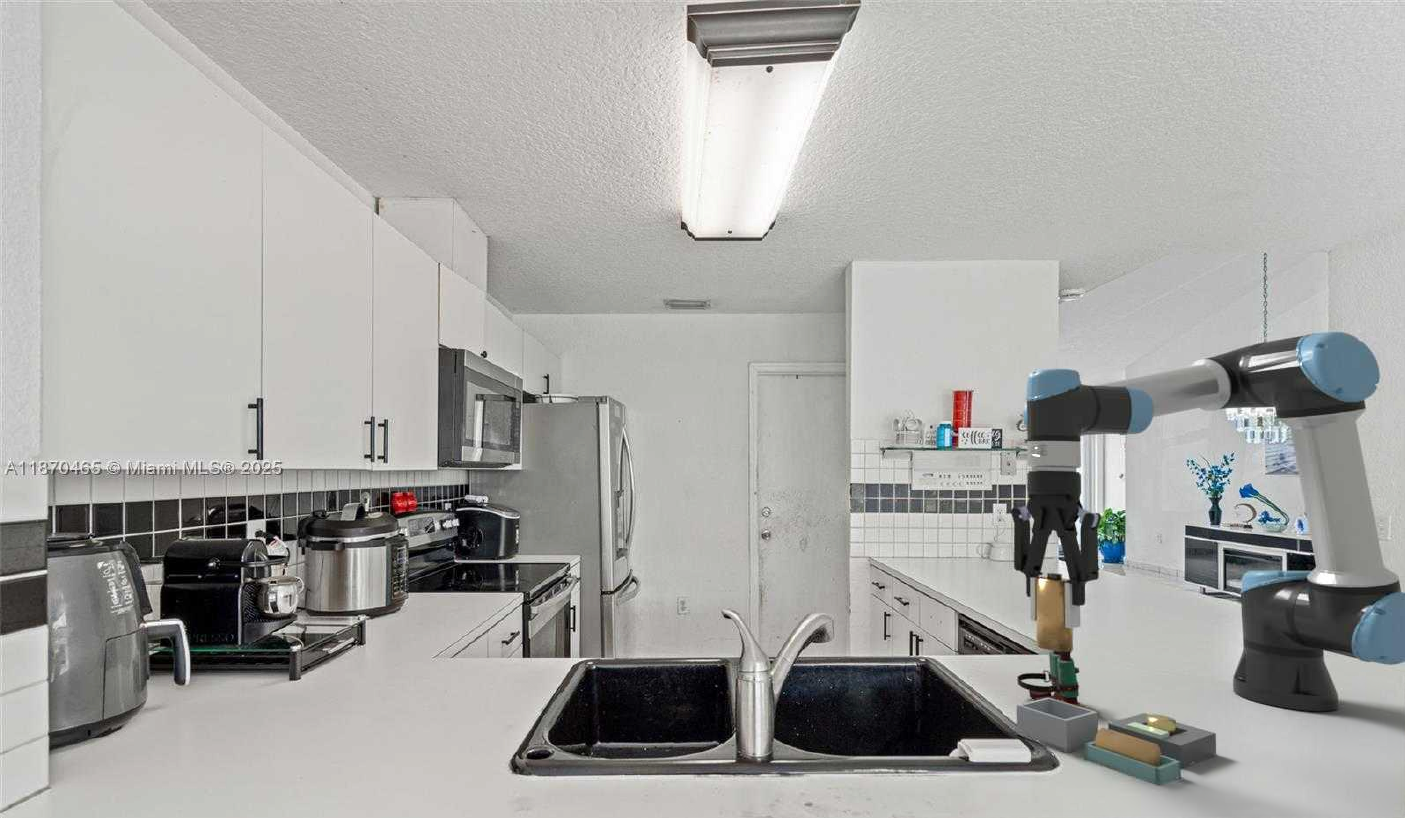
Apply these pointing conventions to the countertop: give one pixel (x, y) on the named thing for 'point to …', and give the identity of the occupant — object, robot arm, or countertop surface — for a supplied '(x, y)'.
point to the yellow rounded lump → (1162, 723)
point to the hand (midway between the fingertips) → (1055, 623)
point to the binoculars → (1055, 680)
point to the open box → (1057, 724)
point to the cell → (1052, 614)
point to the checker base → (1170, 739)
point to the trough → (1132, 757)
